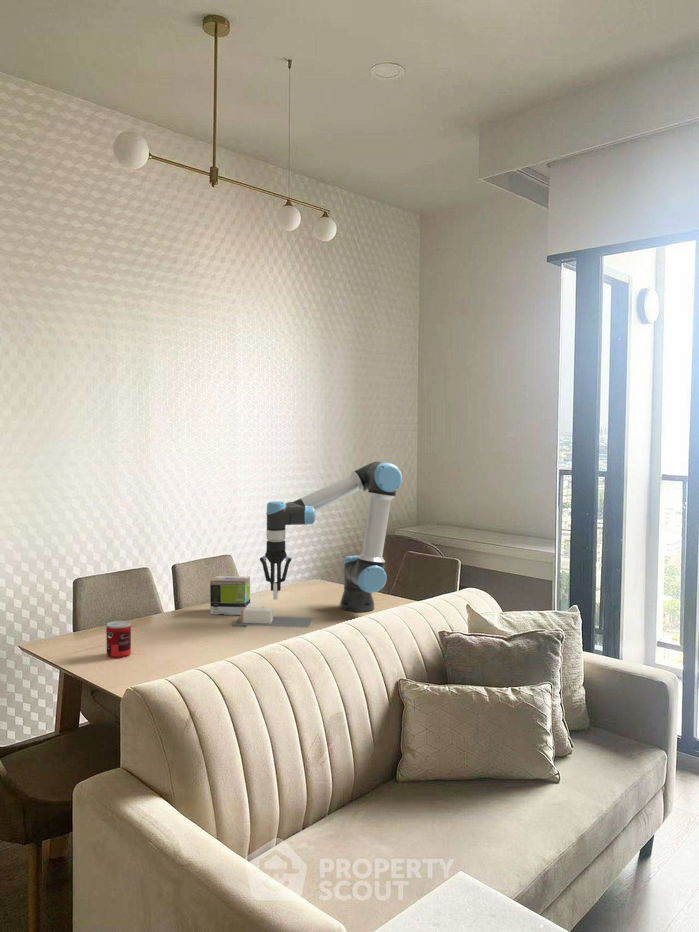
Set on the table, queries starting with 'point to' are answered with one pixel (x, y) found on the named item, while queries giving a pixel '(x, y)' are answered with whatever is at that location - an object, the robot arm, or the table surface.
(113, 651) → the canned food
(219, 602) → the tea box
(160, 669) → the table surface
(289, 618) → the rubber mat
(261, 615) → the cream block
